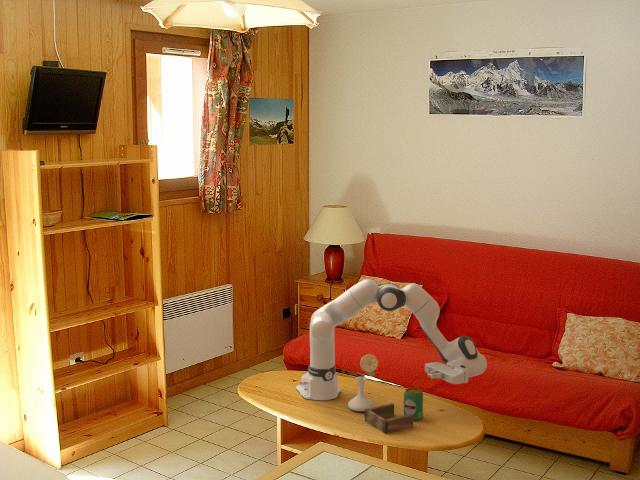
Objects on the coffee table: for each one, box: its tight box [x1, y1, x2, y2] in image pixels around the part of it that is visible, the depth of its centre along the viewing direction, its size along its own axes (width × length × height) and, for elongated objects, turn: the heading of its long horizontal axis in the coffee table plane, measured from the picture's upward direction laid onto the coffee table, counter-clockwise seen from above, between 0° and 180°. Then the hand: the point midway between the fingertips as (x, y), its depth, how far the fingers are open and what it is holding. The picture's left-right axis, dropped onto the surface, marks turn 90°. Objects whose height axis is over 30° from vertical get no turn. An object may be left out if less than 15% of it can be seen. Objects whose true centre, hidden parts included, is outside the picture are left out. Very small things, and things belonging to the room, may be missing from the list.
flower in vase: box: [347, 353, 379, 412], centre depth 329 cm, size 13×11×25 cm
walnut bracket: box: [364, 402, 414, 434], centre depth 315 cm, size 15×14×5 cm
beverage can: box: [403, 387, 424, 422], centre depth 321 cm, size 8×8×12 cm
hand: (429, 376), depth 323 cm, fingers closed
